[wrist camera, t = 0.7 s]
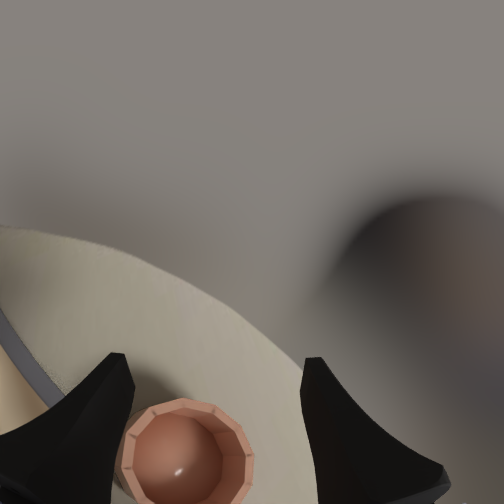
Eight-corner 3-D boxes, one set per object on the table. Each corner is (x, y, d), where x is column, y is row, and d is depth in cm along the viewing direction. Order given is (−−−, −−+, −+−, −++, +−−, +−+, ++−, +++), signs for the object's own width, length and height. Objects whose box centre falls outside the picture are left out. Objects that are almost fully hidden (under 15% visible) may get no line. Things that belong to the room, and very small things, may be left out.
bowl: (186, 532, 18) (210, 545, 15) (88, 462, 18) (93, 467, 15) (244, 451, 26) (273, 449, 23) (161, 384, 26) (179, 373, 23)
